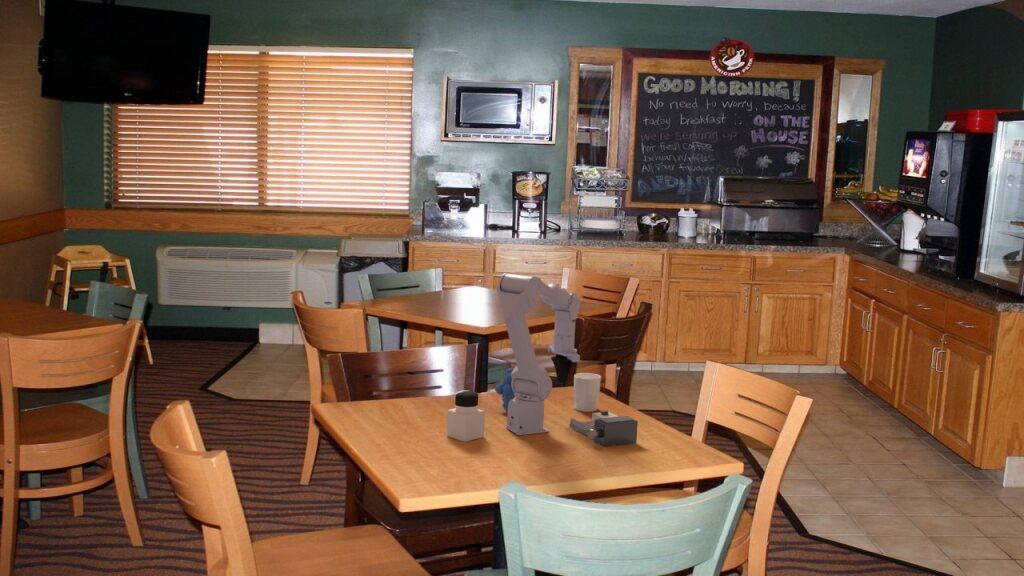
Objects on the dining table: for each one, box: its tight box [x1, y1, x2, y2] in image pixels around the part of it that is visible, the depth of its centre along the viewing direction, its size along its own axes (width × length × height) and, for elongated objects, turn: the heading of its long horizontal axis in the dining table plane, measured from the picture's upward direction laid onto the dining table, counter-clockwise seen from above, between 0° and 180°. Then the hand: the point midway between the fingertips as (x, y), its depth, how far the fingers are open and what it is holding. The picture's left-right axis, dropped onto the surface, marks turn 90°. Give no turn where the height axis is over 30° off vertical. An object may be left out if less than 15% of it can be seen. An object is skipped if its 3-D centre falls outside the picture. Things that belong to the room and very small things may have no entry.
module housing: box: [569, 415, 639, 448], centre depth 258 cm, size 13×19×6 cm
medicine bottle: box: [446, 389, 486, 443], centre depth 252 cm, size 7×7×12 cm
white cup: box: [573, 372, 602, 413], centre depth 285 cm, size 8×8×10 cm
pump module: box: [591, 410, 620, 429], centre depth 257 cm, size 5×5×6 cm
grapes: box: [494, 367, 516, 412], centre depth 280 cm, size 12×7×12 cm, turn 175°
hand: (562, 381), depth 273 cm, fingers closed
